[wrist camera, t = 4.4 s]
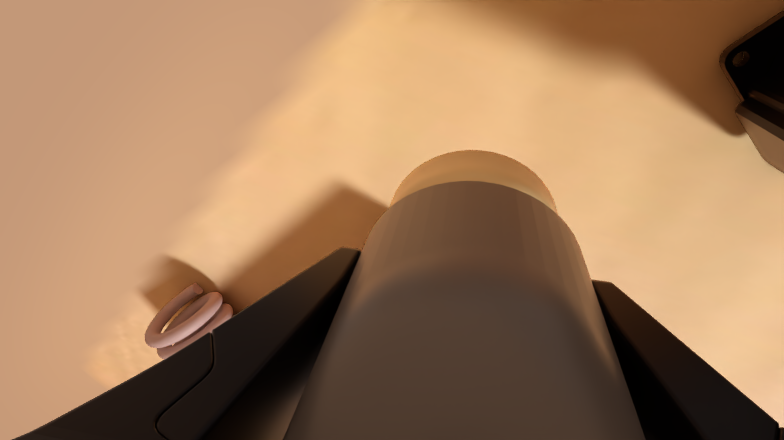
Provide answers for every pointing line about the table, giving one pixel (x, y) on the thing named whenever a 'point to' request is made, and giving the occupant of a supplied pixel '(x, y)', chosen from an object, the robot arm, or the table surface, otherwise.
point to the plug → (468, 321)
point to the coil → (186, 320)
